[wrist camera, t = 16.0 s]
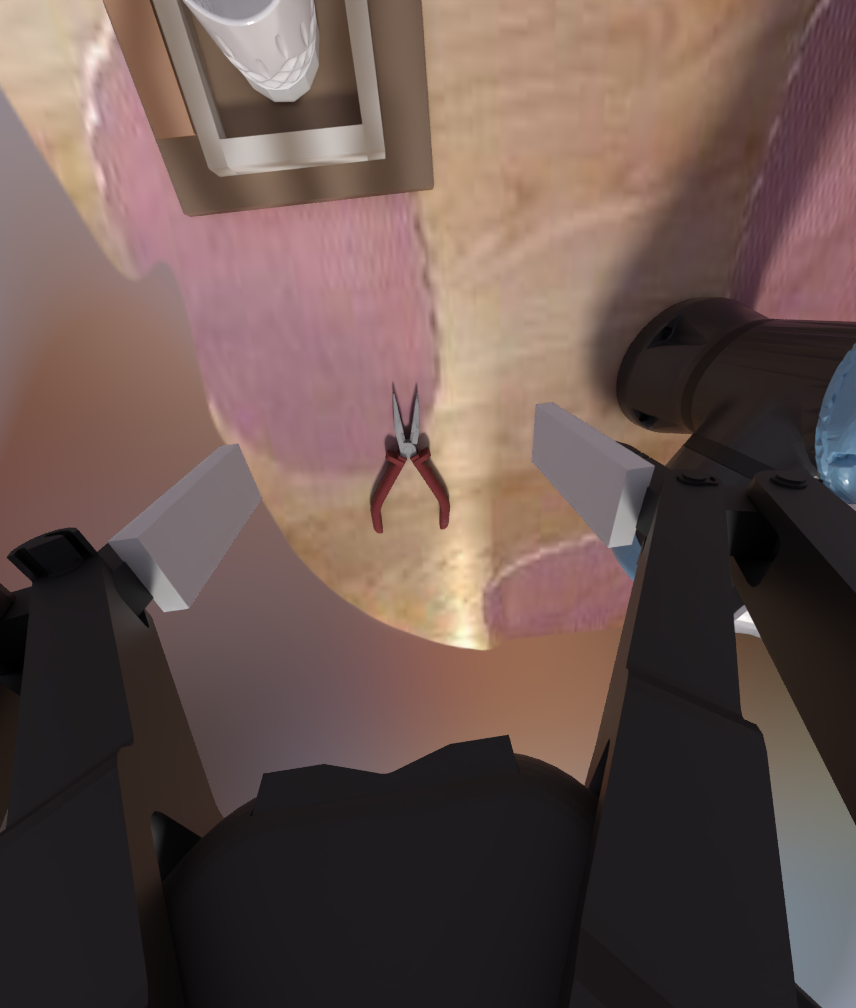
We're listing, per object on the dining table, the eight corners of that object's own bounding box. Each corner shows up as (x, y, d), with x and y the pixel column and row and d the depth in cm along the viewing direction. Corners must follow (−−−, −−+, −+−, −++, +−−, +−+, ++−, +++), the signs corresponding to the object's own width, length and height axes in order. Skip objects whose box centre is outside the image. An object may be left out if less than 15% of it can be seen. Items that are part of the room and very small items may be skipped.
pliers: (451, 388, 40) (455, 393, 38) (448, 522, 51) (450, 532, 48) (357, 391, 39) (355, 396, 37) (373, 526, 50) (372, 537, 48)
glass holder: (405, -200, 20) (407, -277, 18) (432, 189, 30) (436, 178, 27) (46, -172, 20) (-9, -246, 17) (190, 216, 29) (170, 208, 27)
